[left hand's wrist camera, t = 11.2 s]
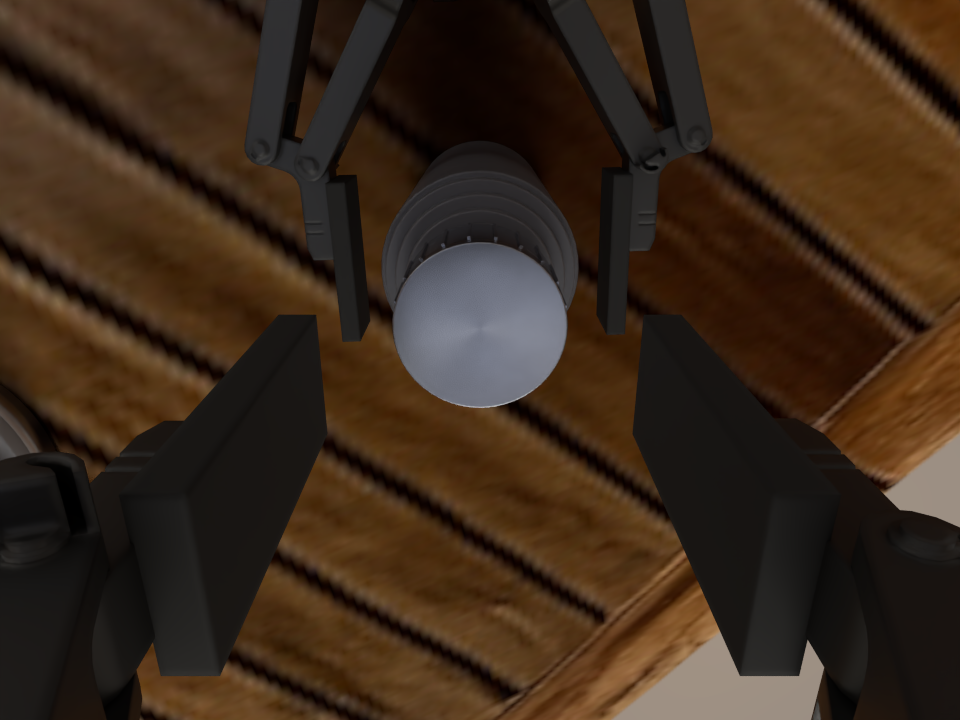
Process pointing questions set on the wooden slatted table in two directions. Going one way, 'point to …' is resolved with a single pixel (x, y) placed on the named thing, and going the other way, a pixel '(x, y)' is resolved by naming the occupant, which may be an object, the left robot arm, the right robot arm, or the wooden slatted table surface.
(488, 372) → the cap
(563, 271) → the bottle
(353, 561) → the wooden slatted table surface
